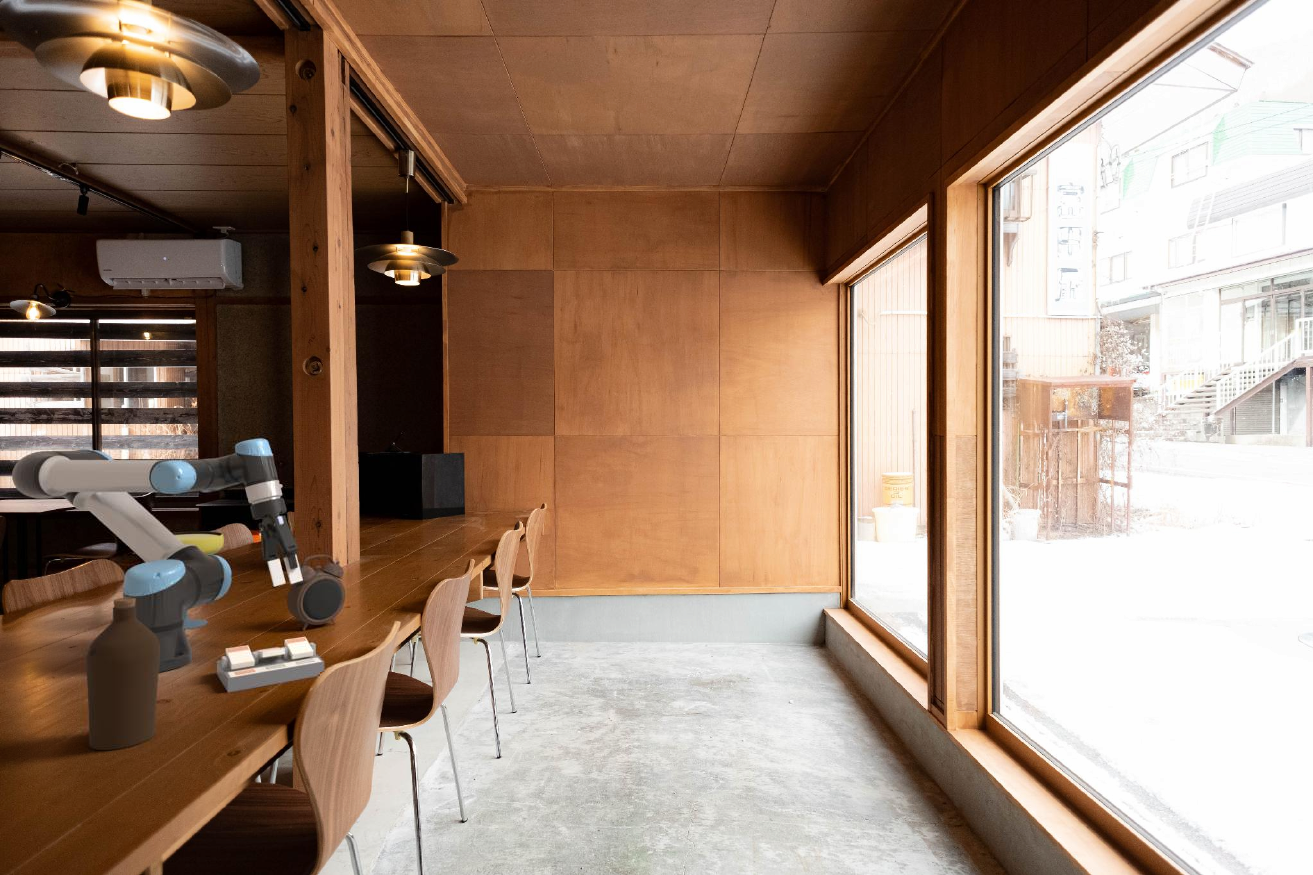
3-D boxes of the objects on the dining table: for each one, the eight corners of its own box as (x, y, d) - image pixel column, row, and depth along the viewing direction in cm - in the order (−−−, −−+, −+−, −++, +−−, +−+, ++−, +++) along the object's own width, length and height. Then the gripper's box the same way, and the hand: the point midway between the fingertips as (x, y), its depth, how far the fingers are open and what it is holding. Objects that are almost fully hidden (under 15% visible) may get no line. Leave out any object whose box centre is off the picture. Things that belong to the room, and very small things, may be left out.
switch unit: (227, 692, 153) (228, 667, 153) (216, 674, 163) (217, 651, 163) (324, 674, 165) (324, 651, 165) (307, 659, 175) (308, 637, 175)
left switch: (231, 669, 157) (231, 664, 157) (225, 653, 163) (225, 648, 162) (254, 665, 160) (254, 660, 159) (247, 650, 165) (248, 644, 165)
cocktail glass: (237, 620, 209) (239, 533, 209) (181, 636, 191) (182, 542, 191) (187, 614, 214) (189, 529, 214) (128, 630, 196) (129, 538, 196)
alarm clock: (297, 634, 196) (299, 560, 196) (284, 629, 200) (286, 557, 200) (348, 623, 208) (350, 553, 207) (335, 619, 212) (336, 550, 212)
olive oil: (136, 751, 124) (138, 606, 124) (69, 753, 123) (71, 606, 123) (171, 726, 135) (173, 592, 135) (110, 727, 134) (112, 592, 134)
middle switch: (262, 657, 160) (262, 651, 161) (255, 656, 166) (255, 650, 166) (284, 653, 163) (284, 648, 163) (277, 652, 169) (276, 647, 169)
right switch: (292, 659, 164) (292, 654, 164) (284, 644, 170) (284, 639, 170) (313, 655, 167) (313, 650, 167) (304, 641, 173) (305, 636, 173)
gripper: (298, 490, 174) (320, 576, 174) (268, 503, 192) (288, 581, 192) (264, 497, 169) (287, 586, 169) (236, 510, 187) (257, 590, 186)
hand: (287, 583), depth 180 cm, fingers open, 13 cm apart
